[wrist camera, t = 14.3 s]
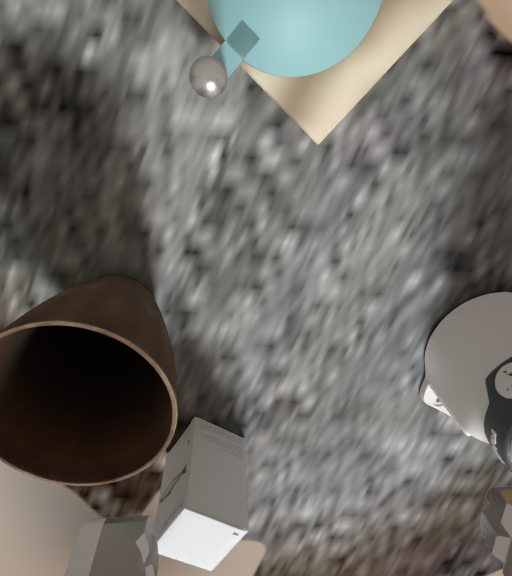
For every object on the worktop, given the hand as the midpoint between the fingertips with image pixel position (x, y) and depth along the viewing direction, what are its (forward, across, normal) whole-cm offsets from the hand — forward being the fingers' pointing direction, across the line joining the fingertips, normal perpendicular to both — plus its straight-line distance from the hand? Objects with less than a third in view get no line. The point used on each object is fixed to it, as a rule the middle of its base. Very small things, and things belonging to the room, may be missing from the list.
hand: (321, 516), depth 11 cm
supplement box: (+34, +7, +31) cm, 47 cm away
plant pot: (+34, +14, +11) cm, 39 cm away
